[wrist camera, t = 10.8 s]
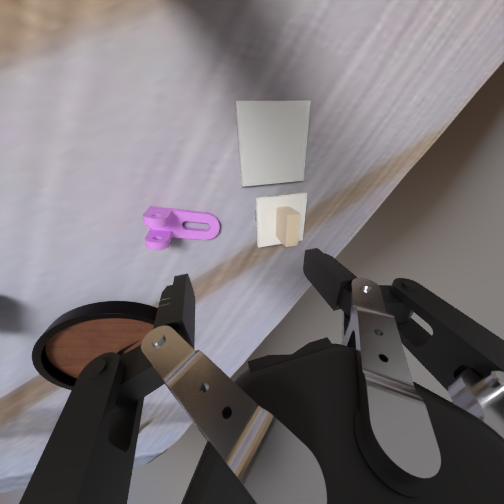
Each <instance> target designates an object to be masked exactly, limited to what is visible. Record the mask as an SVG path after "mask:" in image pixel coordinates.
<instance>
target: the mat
mask: <svg viewBox="0 0 504 504" xmlns="http://www.w3.org/2000/svg"><path fill="white" fill-rule="evenodd" d="M310 102H311V100H302V101H236V102H235V104H236V118H237V131H238V144H239V158H240V171H241V184H242V187H244V186H254V185H264V184H275V183H285V182H295V181H304V169H305V158H306V147H307V136H308V124H309V113H310Z"/></svg>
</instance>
